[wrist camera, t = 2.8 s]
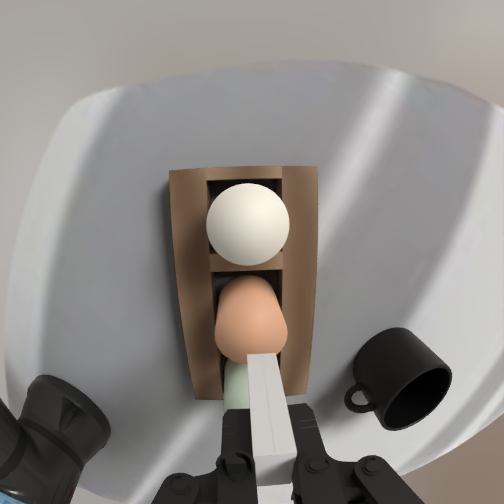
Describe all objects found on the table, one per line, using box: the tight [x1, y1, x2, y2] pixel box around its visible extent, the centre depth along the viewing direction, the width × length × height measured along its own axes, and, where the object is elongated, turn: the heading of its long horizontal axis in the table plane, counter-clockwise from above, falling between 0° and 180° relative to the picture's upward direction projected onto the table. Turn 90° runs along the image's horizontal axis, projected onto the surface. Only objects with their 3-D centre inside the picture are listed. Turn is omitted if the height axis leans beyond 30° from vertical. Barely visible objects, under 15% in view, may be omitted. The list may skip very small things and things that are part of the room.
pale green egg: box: [223, 358, 250, 414], centre depth 23 cm, size 5×5×6 cm
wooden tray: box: [169, 166, 318, 400], centre depth 25 cm, size 12×23×3 cm, turn 1°
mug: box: [344, 328, 452, 431], centre depth 25 cm, size 9×12×9 cm
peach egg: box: [215, 275, 288, 364], centre depth 21 cm, size 5×5×6 cm
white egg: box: [206, 183, 289, 266], centre depth 19 cm, size 5×5×6 cm
